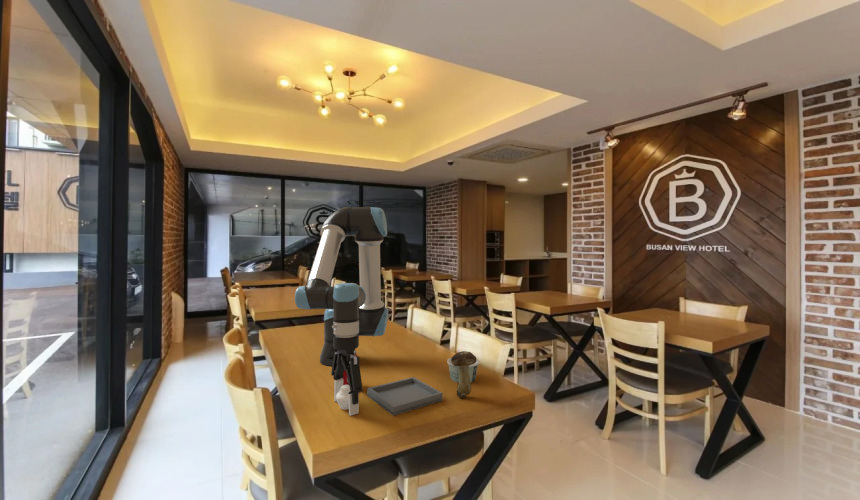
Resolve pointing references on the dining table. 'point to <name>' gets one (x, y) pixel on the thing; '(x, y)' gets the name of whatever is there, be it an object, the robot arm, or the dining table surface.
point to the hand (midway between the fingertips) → (346, 406)
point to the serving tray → (404, 395)
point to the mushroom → (463, 371)
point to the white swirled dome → (343, 397)
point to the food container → (456, 373)
